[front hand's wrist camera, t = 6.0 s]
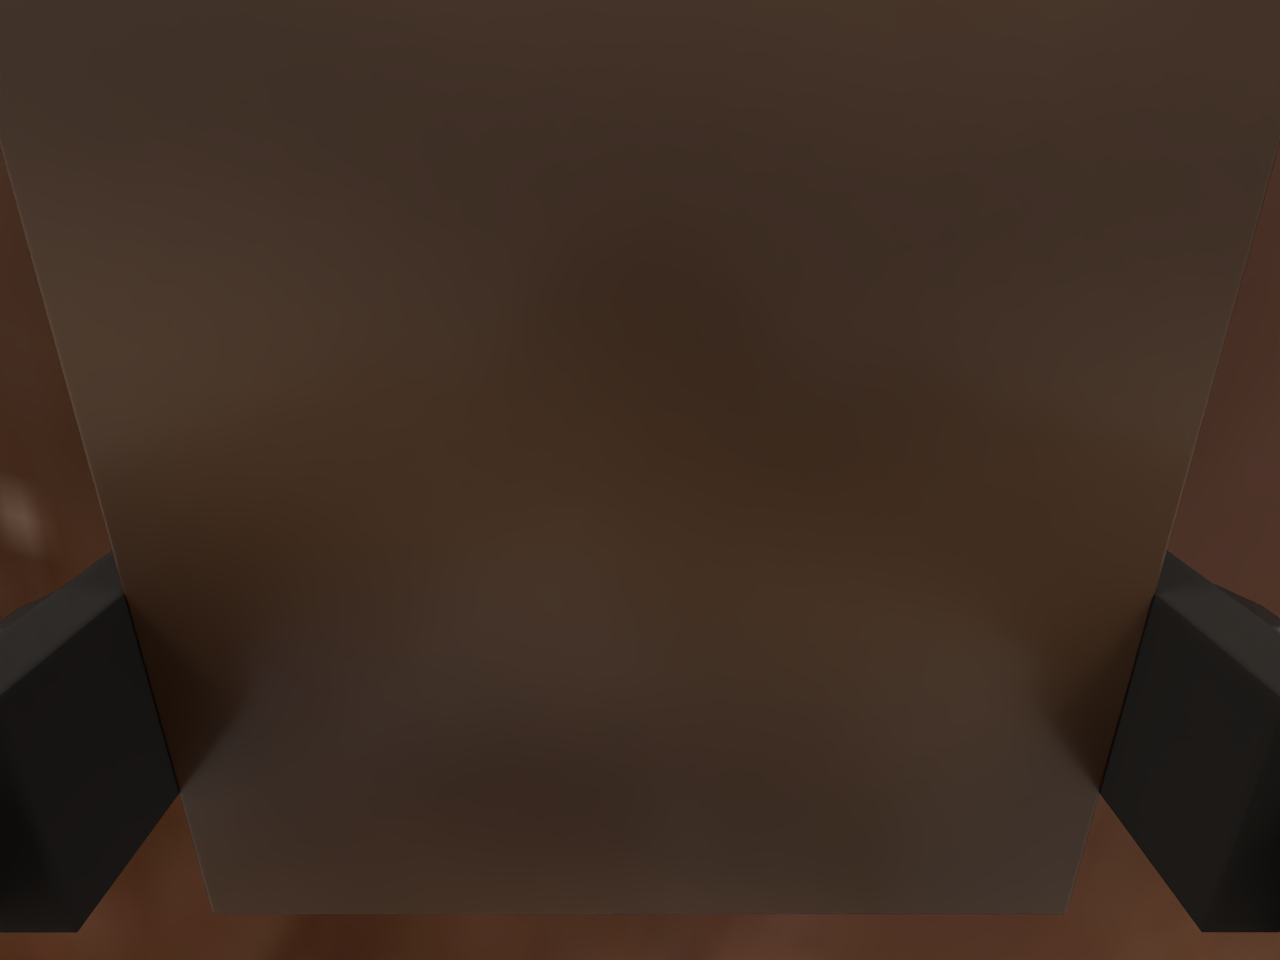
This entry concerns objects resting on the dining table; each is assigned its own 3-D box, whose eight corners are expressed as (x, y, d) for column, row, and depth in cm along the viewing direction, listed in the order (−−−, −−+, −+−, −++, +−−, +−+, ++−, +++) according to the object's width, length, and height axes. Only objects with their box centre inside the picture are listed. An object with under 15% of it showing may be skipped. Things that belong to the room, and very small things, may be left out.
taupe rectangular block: (290, -490, 12) (-699, -2352, 3) (988, -490, 12) (1978, -2352, 3) (414, 560, 19) (211, 917, 10) (864, 561, 19) (1067, 915, 10)
